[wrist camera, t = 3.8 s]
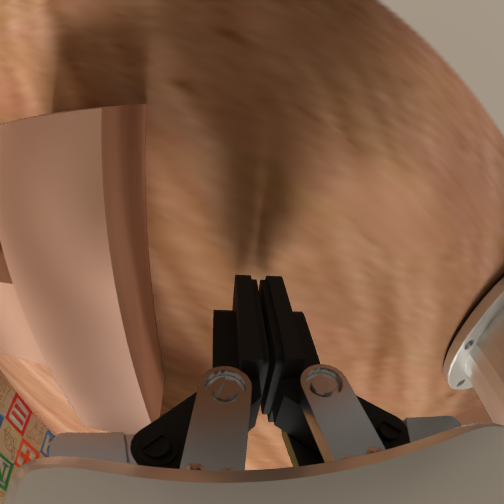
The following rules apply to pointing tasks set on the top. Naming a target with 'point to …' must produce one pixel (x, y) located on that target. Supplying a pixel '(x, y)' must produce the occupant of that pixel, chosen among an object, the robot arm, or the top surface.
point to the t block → (81, 261)
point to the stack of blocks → (18, 435)
